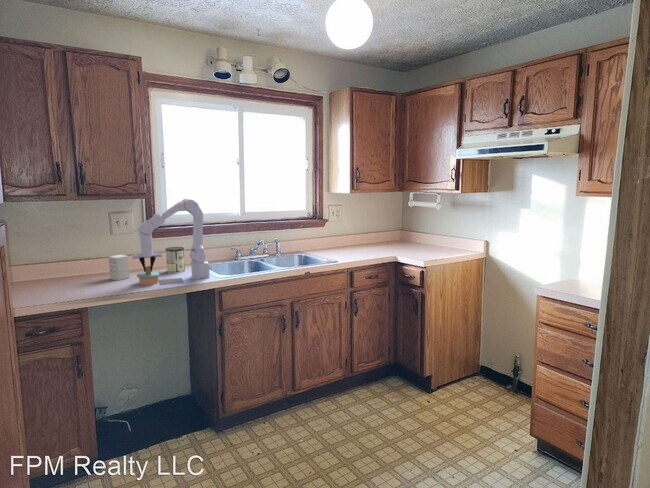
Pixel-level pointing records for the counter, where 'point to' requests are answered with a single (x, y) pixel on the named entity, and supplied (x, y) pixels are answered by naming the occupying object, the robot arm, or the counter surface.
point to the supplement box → (119, 267)
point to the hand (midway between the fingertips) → (148, 271)
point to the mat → (170, 281)
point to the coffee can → (175, 259)
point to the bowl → (148, 281)
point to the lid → (148, 273)
